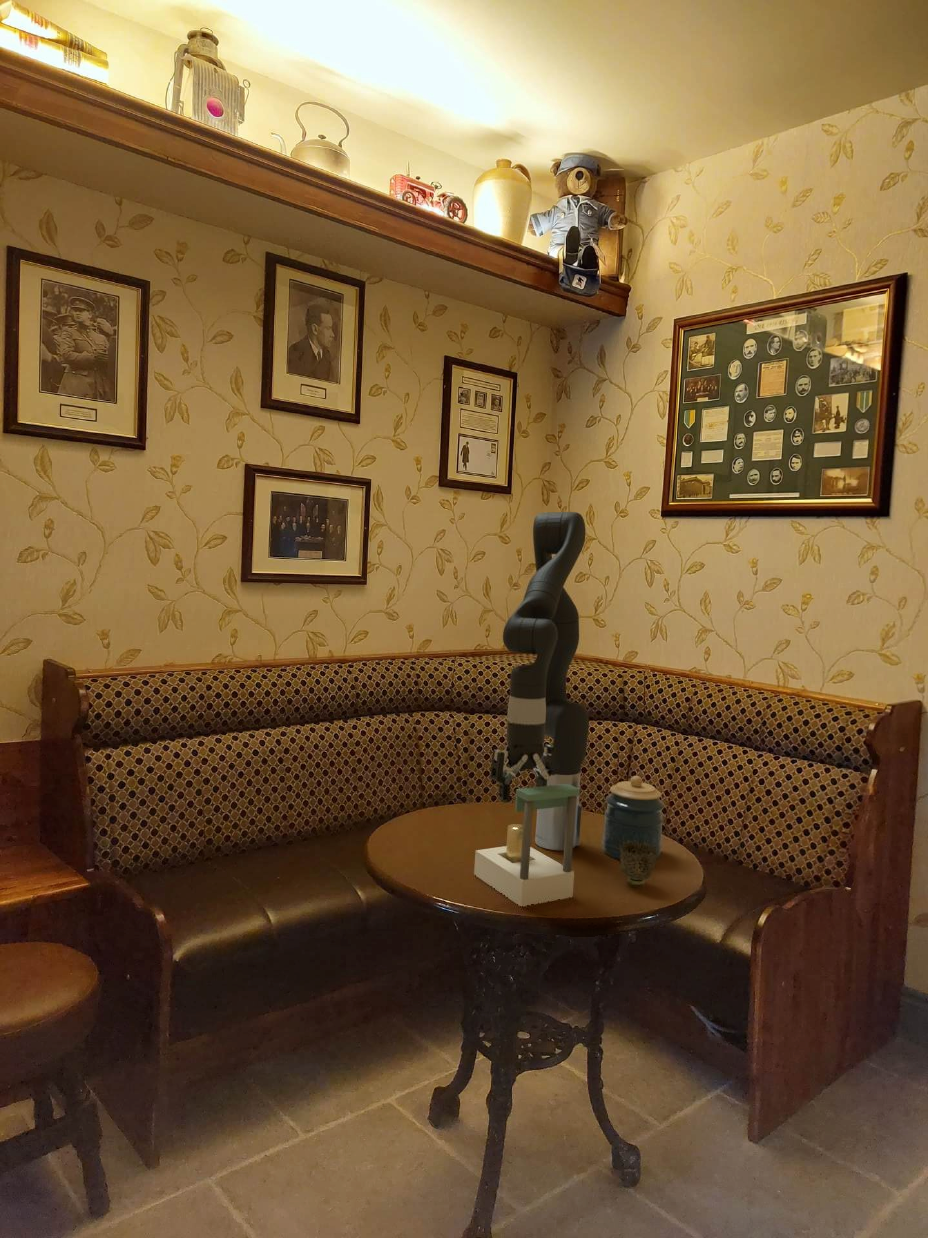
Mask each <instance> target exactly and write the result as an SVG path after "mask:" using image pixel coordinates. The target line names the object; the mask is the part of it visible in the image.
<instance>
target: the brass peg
mask: <svg viewBox="0 0 928 1238" xmlns="http://www.w3.org/2000/svg"><path fill="white" fill-rule="evenodd" d="M506 831H507V832H506V833H507V834H506V845H505V846H506V860H508V861H510V862H511V863H518V862H521V851H522V835H523V824H521V823H520V824H519V823H516V824H515V823H513V824H512V823H511V824H509V825H507V830H506Z"/></svg>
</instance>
